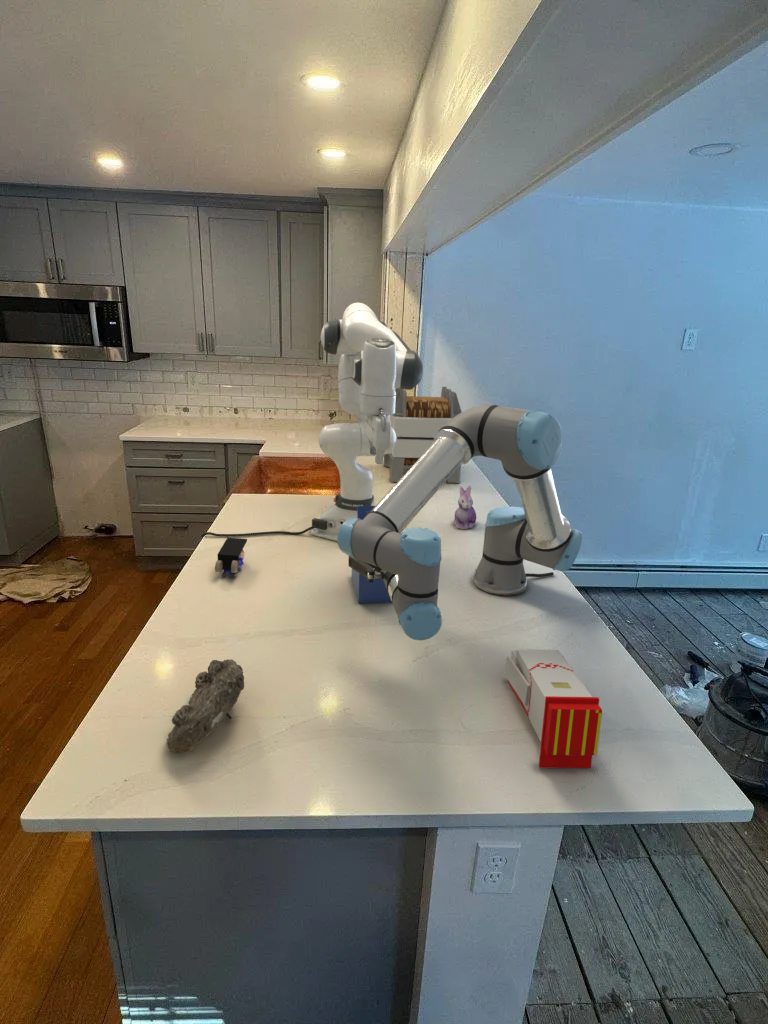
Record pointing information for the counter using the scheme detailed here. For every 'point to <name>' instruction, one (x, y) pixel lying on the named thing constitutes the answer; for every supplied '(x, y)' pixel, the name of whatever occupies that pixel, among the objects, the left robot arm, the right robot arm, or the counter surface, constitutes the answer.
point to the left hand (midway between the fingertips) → (375, 458)
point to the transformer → (419, 428)
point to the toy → (556, 707)
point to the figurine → (465, 510)
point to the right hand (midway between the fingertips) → (386, 545)
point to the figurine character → (230, 556)
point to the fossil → (206, 705)
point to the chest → (369, 589)
